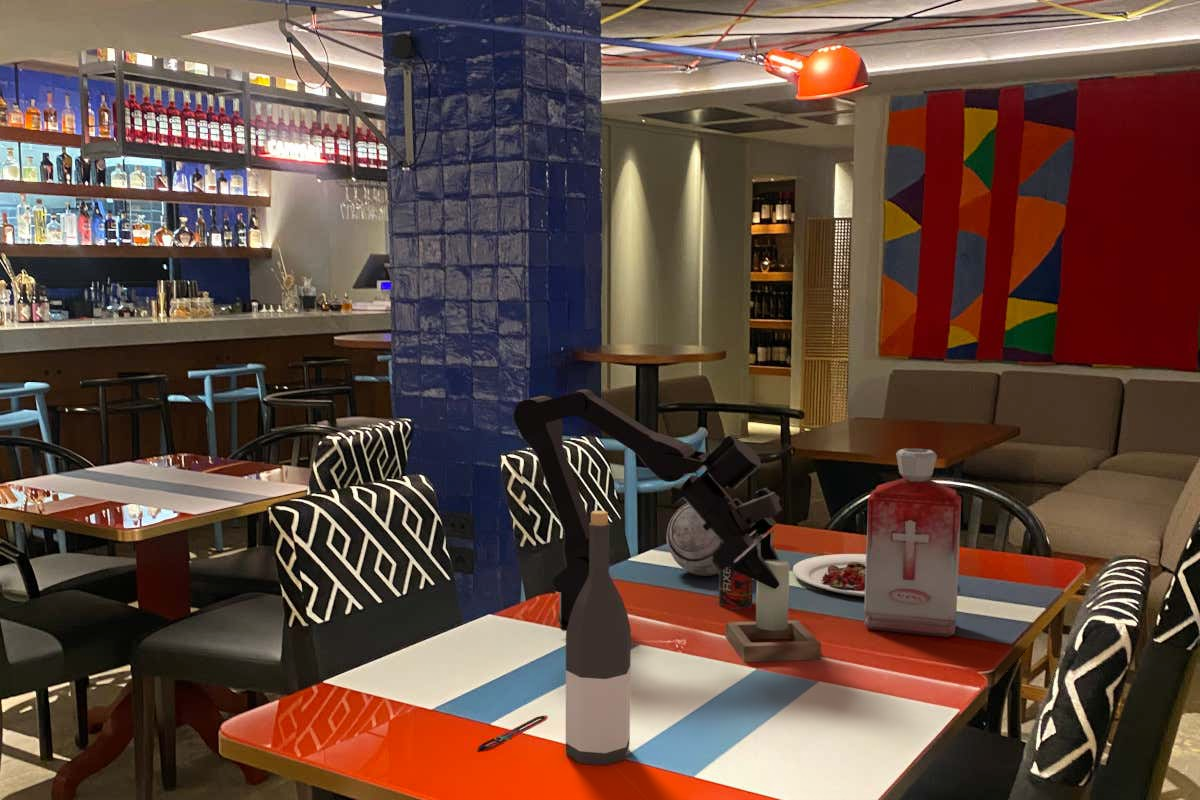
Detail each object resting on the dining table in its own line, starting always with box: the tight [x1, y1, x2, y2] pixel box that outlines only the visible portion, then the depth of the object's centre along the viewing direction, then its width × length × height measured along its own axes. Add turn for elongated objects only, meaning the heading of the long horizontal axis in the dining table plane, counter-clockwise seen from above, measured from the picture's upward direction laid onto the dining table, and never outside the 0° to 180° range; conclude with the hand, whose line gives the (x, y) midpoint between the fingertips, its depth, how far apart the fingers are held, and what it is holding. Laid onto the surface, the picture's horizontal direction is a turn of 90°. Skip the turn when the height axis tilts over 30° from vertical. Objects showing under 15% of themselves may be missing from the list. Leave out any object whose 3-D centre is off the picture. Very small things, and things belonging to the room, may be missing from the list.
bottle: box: [863, 448, 962, 638], centre depth 189 cm, size 14×10×30 cm
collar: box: [725, 619, 822, 663], centre depth 179 cm, size 12×12×2 cm
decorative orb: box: [665, 502, 720, 577], centre depth 223 cm, size 15×14×15 cm
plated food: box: [792, 553, 866, 598], centre depth 219 cm, size 30×30×3 cm
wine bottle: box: [565, 510, 632, 766], centre depth 138 cm, size 8×8×30 cm
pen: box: [477, 715, 548, 753], centre depth 145 cm, size 2×14×1 cm, turn 146°
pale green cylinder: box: [755, 559, 790, 631], centre depth 178 cm, size 5×5×10 cm
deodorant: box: [718, 541, 754, 610], centre depth 202 cm, size 6×6×15 cm
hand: (781, 582), depth 177 cm, fingers closed on pale green cylinder, 5 cm apart
